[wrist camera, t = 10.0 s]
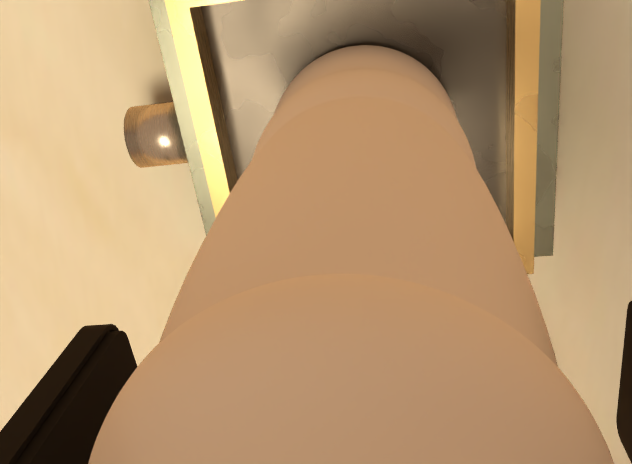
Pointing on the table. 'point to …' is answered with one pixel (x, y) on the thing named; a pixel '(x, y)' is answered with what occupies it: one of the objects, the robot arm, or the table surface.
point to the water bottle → (355, 301)
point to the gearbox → (352, 30)
